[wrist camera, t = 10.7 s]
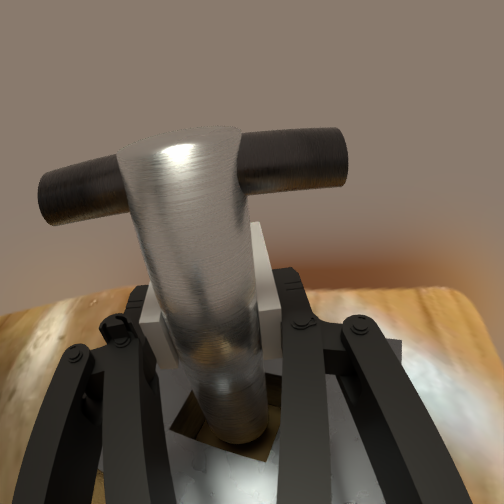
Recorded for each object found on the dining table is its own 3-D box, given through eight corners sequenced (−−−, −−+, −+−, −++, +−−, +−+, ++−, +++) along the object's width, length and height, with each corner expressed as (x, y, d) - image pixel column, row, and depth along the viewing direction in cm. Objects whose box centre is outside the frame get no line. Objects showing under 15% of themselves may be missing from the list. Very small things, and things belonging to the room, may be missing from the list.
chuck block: (85, 461, 15) (55, 437, 13) (174, 332, 26) (162, 298, 24) (352, 557, 9) (370, 557, 7) (387, 374, 20) (401, 340, 18)
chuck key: (162, 446, 14) (15, 190, 6) (165, 398, 17) (67, 155, 9) (321, 431, 15) (361, 136, 7) (309, 383, 18) (318, 116, 10)
